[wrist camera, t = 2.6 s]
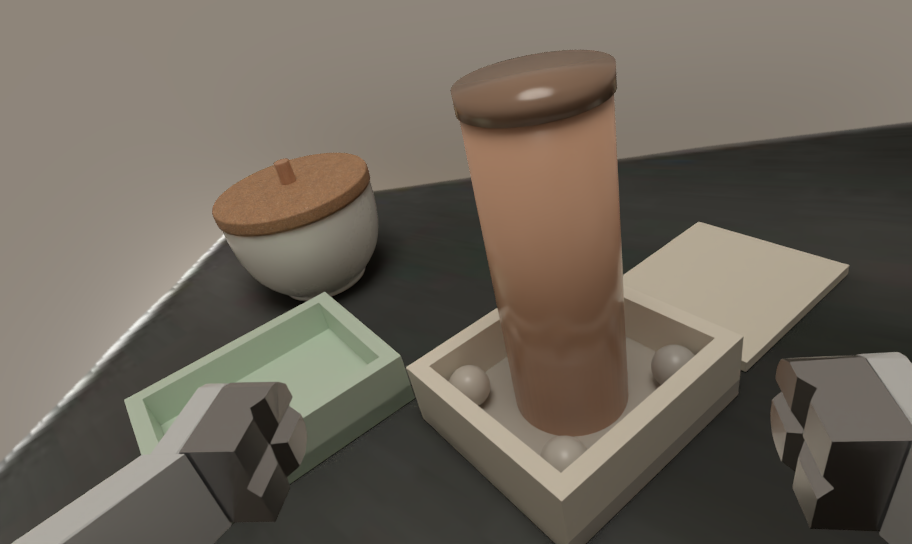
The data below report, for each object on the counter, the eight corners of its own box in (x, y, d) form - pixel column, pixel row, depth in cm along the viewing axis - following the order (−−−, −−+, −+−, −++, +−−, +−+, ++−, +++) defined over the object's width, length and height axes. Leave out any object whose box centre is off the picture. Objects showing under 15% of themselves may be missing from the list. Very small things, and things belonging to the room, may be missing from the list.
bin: (691, 227, 38) (692, 180, 36) (857, 277, 30) (870, 221, 29) (423, 418, 28) (405, 367, 26) (570, 558, 21) (561, 501, 19)
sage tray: (339, 329, 36) (324, 291, 34) (415, 398, 29) (400, 355, 28) (151, 438, 31) (124, 400, 29) (192, 551, 24) (158, 509, 23)
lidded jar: (417, 240, 44) (386, 126, 39) (351, 327, 36) (301, 197, 31) (307, 239, 48) (266, 135, 43) (226, 316, 40) (164, 200, 35)
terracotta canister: (568, 339, 29) (532, 47, 22) (656, 388, 25) (652, 53, 18) (490, 396, 27) (420, 92, 19) (574, 460, 23) (527, 111, 15)
